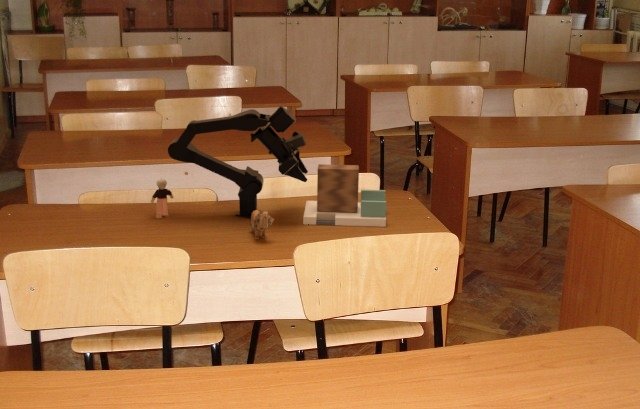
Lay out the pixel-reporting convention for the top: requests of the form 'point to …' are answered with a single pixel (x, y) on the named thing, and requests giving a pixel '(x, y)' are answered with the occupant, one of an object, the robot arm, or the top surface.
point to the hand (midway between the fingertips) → (306, 176)
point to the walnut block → (337, 188)
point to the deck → (367, 215)
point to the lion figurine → (260, 222)
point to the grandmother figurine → (161, 198)
